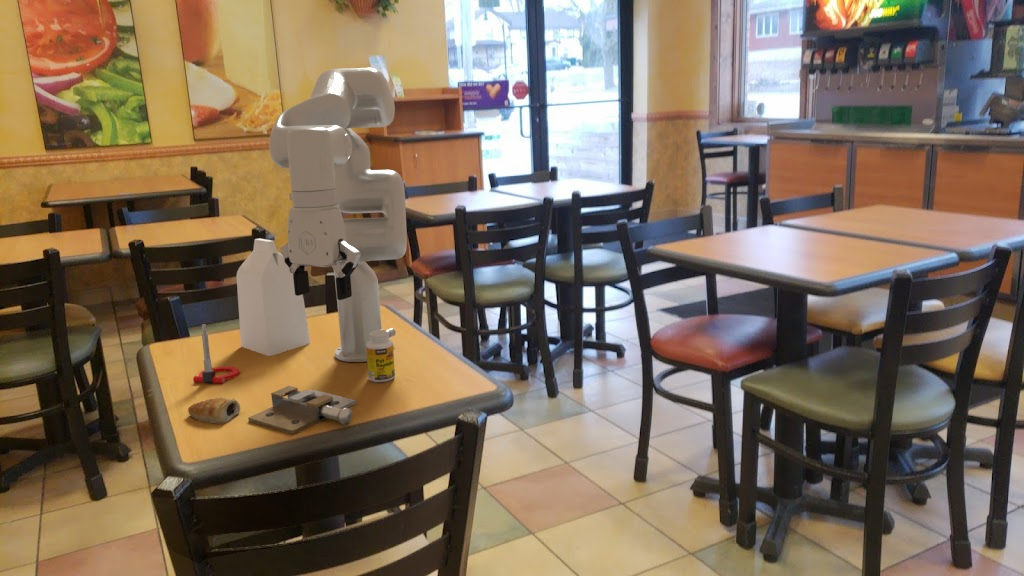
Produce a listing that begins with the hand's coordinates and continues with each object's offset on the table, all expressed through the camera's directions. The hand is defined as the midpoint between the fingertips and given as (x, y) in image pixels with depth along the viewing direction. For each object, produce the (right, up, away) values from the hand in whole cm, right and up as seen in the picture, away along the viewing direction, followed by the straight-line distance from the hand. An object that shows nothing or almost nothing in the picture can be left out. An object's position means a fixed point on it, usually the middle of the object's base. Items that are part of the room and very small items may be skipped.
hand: (323, 296), depth 140 cm
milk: (-24, -13, +52) cm, 58 cm away
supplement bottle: (+6, -18, +27) cm, 33 cm away
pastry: (-23, -23, +10) cm, 34 cm away
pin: (-2, -23, +8) cm, 24 cm away
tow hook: (-30, -18, +31) cm, 47 cm away
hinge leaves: (-6, -22, +10) cm, 25 cm away
